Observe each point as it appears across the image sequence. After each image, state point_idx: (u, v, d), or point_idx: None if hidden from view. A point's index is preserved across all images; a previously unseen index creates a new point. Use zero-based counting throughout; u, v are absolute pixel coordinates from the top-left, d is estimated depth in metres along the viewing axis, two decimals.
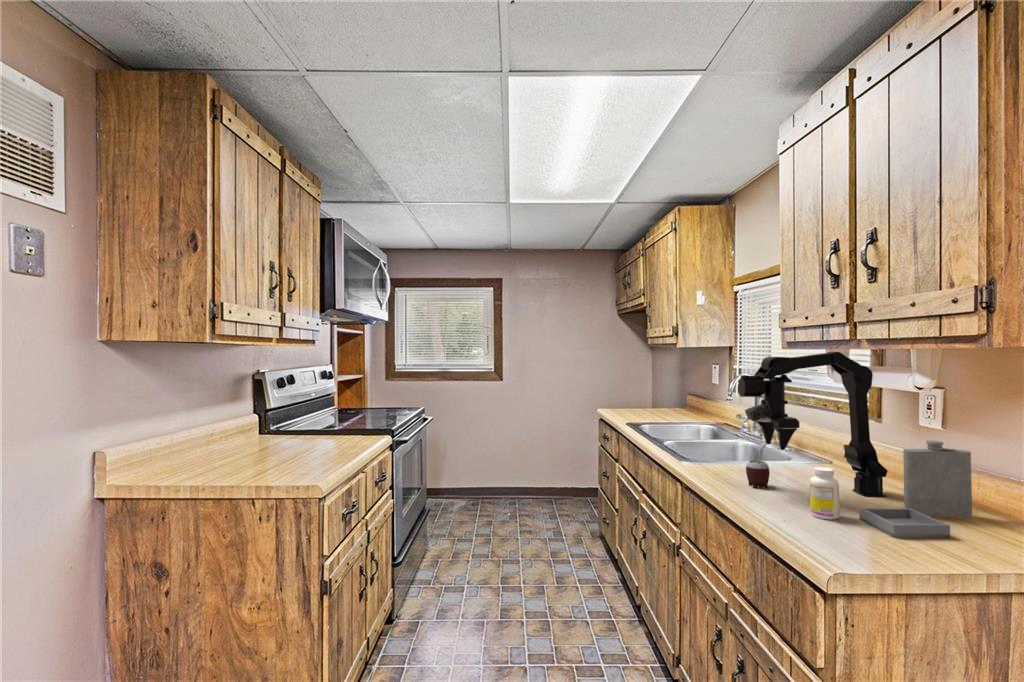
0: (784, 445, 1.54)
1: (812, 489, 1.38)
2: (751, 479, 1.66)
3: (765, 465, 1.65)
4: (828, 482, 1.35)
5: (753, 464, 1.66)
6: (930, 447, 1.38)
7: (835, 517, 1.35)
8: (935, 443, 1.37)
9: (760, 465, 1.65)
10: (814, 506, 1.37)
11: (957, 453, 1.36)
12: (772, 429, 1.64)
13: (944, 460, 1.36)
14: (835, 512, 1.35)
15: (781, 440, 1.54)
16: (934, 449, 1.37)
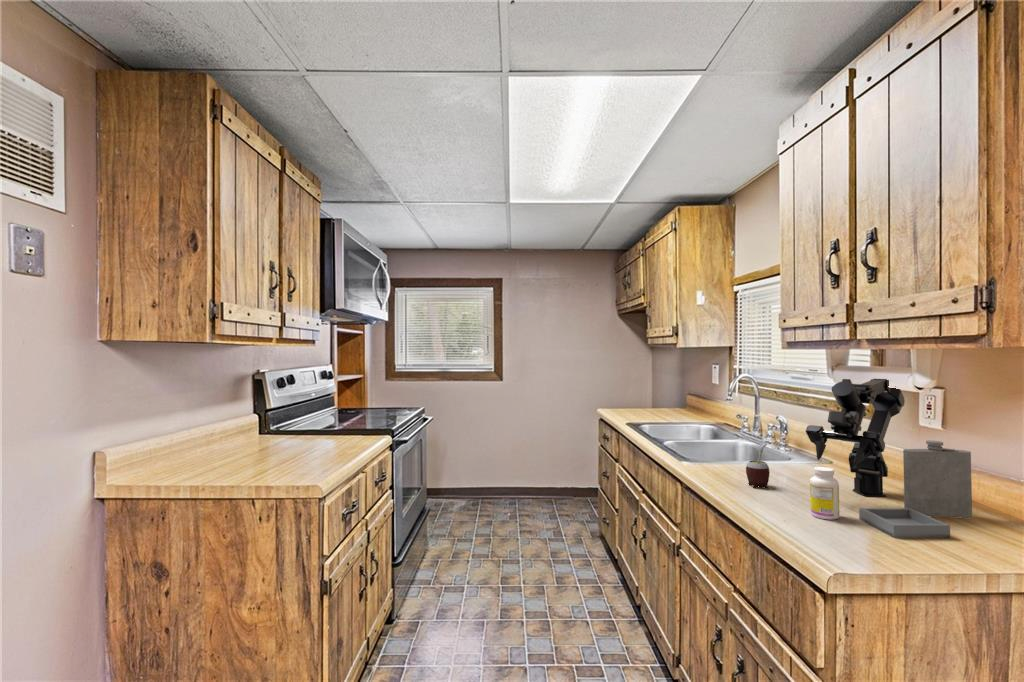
0: (858, 461, 1.40)
1: (812, 489, 1.38)
2: (751, 479, 1.66)
3: (765, 465, 1.65)
4: (828, 482, 1.35)
5: (753, 464, 1.66)
6: (930, 447, 1.38)
7: (835, 517, 1.35)
8: (935, 443, 1.37)
9: (760, 465, 1.65)
10: (814, 506, 1.37)
11: (957, 453, 1.36)
12: (823, 449, 1.50)
13: (944, 460, 1.36)
14: (835, 512, 1.35)
15: (861, 454, 1.40)
16: (934, 449, 1.37)
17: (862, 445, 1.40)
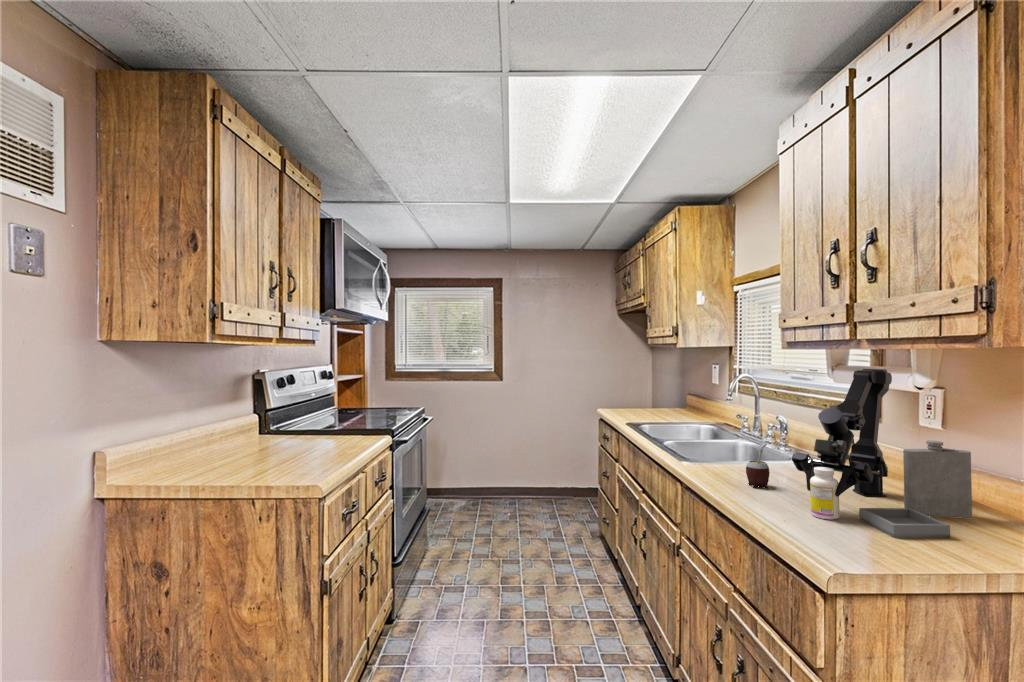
0: (841, 492, 1.35)
1: (812, 489, 1.38)
2: (751, 479, 1.66)
3: (765, 465, 1.65)
4: (828, 482, 1.35)
5: (753, 464, 1.66)
6: (930, 447, 1.38)
7: (835, 517, 1.35)
8: (935, 443, 1.37)
9: (760, 465, 1.65)
10: (814, 506, 1.37)
11: (957, 453, 1.36)
12: None
13: (944, 460, 1.36)
14: (835, 512, 1.35)
15: (843, 485, 1.35)
16: (934, 449, 1.37)
17: (844, 475, 1.35)
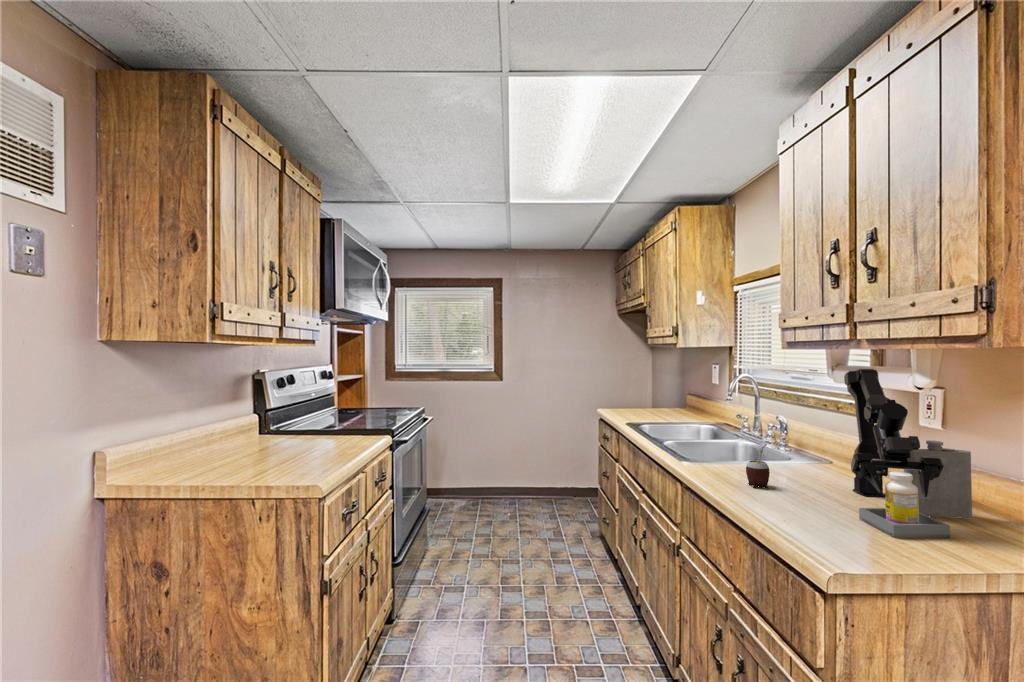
0: None
1: (895, 497, 1.27)
2: (751, 479, 1.66)
3: (765, 465, 1.65)
4: (913, 488, 1.26)
5: (753, 464, 1.66)
6: (930, 447, 1.38)
7: None
8: (935, 443, 1.37)
9: (760, 465, 1.65)
10: (898, 516, 1.26)
11: (957, 453, 1.36)
12: None
13: (944, 460, 1.36)
14: (918, 519, 1.26)
15: (928, 484, 1.27)
16: (934, 449, 1.37)
17: (927, 473, 1.27)
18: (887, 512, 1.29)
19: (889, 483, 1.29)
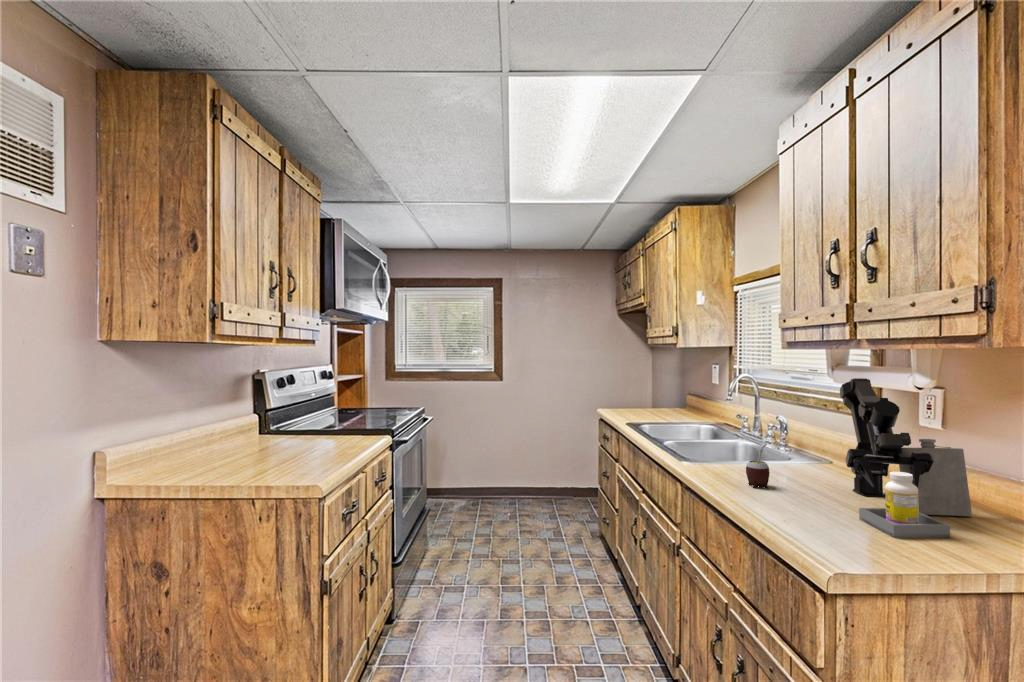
0: (917, 485, 1.33)
1: (895, 497, 1.27)
2: (751, 479, 1.66)
3: (765, 465, 1.65)
4: (913, 488, 1.26)
5: (753, 464, 1.66)
6: (923, 444, 1.40)
7: None
8: (927, 440, 1.40)
9: (760, 465, 1.65)
10: (898, 516, 1.26)
11: (950, 450, 1.38)
12: None
13: (938, 457, 1.39)
14: (918, 519, 1.26)
15: None
16: (927, 446, 1.40)
17: (917, 468, 1.34)
18: (887, 512, 1.29)
19: (889, 483, 1.29)
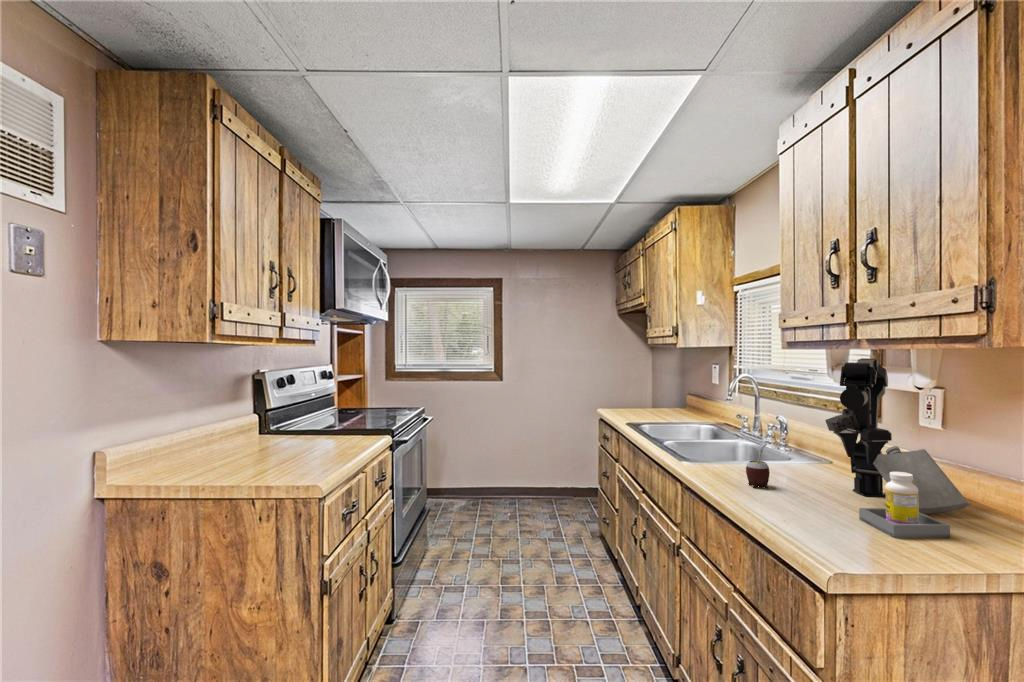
0: (873, 459, 1.41)
1: (895, 497, 1.27)
2: (751, 479, 1.66)
3: (765, 465, 1.65)
4: (914, 488, 1.26)
5: (753, 464, 1.66)
6: (891, 453, 1.51)
7: None
8: (892, 447, 1.51)
9: (760, 465, 1.65)
10: (898, 516, 1.26)
11: (915, 452, 1.49)
12: (854, 441, 1.51)
13: (908, 459, 1.48)
14: (918, 519, 1.26)
15: (870, 453, 1.41)
16: (894, 453, 1.50)
17: (866, 445, 1.41)
18: (887, 512, 1.29)
19: (889, 483, 1.29)
